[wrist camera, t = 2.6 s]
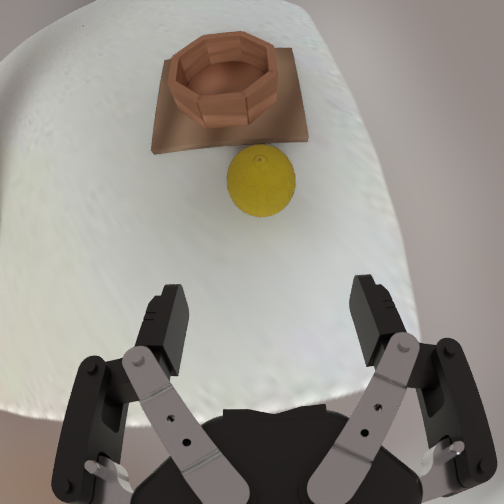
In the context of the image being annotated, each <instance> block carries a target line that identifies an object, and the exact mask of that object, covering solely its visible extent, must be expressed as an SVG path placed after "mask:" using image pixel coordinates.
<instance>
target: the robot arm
mask: <svg viewBox="0 0 504 504" xmlns="http://www.w3.org/2000/svg"><path fill="white" fill-rule="evenodd" d="M349 307H350V312H351V316H352V319H353V322H354V325H355V329H356V332H357V335H358V339H359V342H360V346H361V349H362V353H363V356H364V360H365V364H366V367H370V366H374V368H375V373H374V375H373V377H372V379H371V381H370V383H369V384H368V386H367V388H366V390H365V392H364V394H363V396H362V398H361V399H360V401H359V403H358V405H357V407H356V408H355V410H354V412H353V414H352V415H351V417H350V418H348V417H347V416H345V415H343V414H340V413H338V412H334V411H329V410H326V405H325V404H320V405H311V406H301V407H298V408H294V409H291V410H288V411H285V412H281V413H278V414H270V413H265V412H260V411H255V410H250V409H223V416H219V417H216V418H213V419H211V420H209V421H207V422H205V423H204V424H202V425H201V426H200V424H199V423H198V422H197V420H196V419H195V418H194V416H193V415H192V413H191V412H190V410H189V409H188V408H187V406H186V405H185V403H184V402H183V400H182V399H181V397H180V396H179V394H178V393H177V391H176V390H175V388H174V387H173V385H172V384H171V383H170V377H171V376H178V374H179V369H180V363H181V358H182V352H183V347H184V341H185V336H186V331H187V326H188V321H189V308H188V305H187V301H186V298H185V294H184V291H183V288H182V285H181V284H169V285H165V286H164V288H163V291H162V294H161V296H155V297H154V298H153V299H152V300H151V301H150V302H149V304H148V307H147V310H146V314H145V316H144V321H143V322H142V325H141V328H140V331H139V334H138V337H137V340H136V344H135V346H134V347H133V348H131V349H129V350H128V351H127V352H126V353H125V354H124V356H123V358H120V359H116V360H112V361H107V362H105V361H104V360H103V359H102V358H101V357H99V356H90V357H87V358H86V359H84V360H83V361H82V363H81V364H80V366H79V369H78V372H77V375H76V378H75V382H74V385H73V388H72V392H71V395H70V399H69V402H68V406H67V410H66V414H65V418H64V422H63V426H62V430H61V435H60V439H59V443H58V448H57V453H56V458H55V464H54V469H53V475H52V482H51V486H52V490H53V492H54V494H55V496H56V497H57V498H58V499H59V500H61V501H63V502H65V503H68V504H421V503H423V502H426V501H429V500H432V499H435V498H438V497H449V496H452V495H455V494H458V493H460V492H463V491H465V490H468V489H470V488H473V487H475V486H477V485H480V484H482V483H484V482H486V481H488V480H489V479H490V478H491V477H492V476H493V475H494V474H495V471H496V469H497V457H496V452H495V448H494V444H493V440H492V436H491V432H490V428H489V425H488V421H487V418H486V414H485V411H484V407H483V404H482V401H481V398H480V395H479V392H478V389H477V386H476V383H475V381H474V378H473V375H472V372H471V370H470V367H469V365H468V362H467V360H466V357H465V355H464V352H463V350H462V348H461V346H460V344H459V343H458V342H457V341H455V340H454V339H451V338H443V339H441V340H440V341H439V342H438V343H437V345H431V344H423V343H419V342H418V340H417V339H416V338H415V337H414V336H413V335H411V334H409V333H407V332H406V329H405V327H404V325H403V322H402V320H401V318H400V315H399V313H398V311H397V309H396V308H395V304H394V302H393V301H392V298H391V295H390V293H389V291H388V290H387V289H386V288H385V287H384V286H382V285H381V284H378V285H376V284H375V282H374V280H373V277H372V276H371V275H370V274H367V275H355V276H354V280H353V285H352V290H351V294H350V300H349ZM407 387H409V388H416V392H417V396H418V400H419V404H420V408H421V412H422V416H423V421H424V426H425V430H426V435H427V441H428V446H429V450H428V451H427V452H426V453H425V455H424V456H423V459H422V469H421V472H420V474H419V476H418V475H417V474H416V473H415V472H414V471H413V470H411V469H410V468H408V467H407V466H406V465H405V464H404V463H402V462H401V461H400V460H399V459H398V458H396V457H395V456H394V455H392V454H391V453H390V452H389V451H388V450H387V449H385V448H384V447H383V446H382V442H383V441H384V439H385V437H386V435H387V433H388V430H389V429H390V426H391V424H392V422H393V420H394V418H395V416H396V413H397V411H398V409H399V407H400V405H401V402H402V400H403V398H404V395H405V393H406V390H407ZM135 401H139V402H140V405H141V407H142V409H143V410H144V412H145V414H146V416H147V418H148V419H149V421H150V423H151V425H152V426H153V428H154V430H155V431H156V433H157V435H158V437H159V438H160V440H161V441H162V443H163V445H164V446H165V448H166V449H167V451H168V452H169V454H170V456H169V457H168V458H167V460H166V461H164V462H163V463H162V464H161V465H160V466H159V467H158V468H157V469H156V470H155V471H154V472H153V473H152V474H151V475H149V476H148V477H147V478H146V479H145V480H144V481H143V482H142V483H141V484H140V485H139V486H138V487H137V488H136V489H135V490H134V491H133V490H132V489H131V487H130V484H129V476H128V473H127V471H126V470H125V469H124V468H123V467H122V466H120V458H121V451H122V444H123V437H124V429H125V423H126V417H127V411H128V405H129V403H130V402H135Z"/></svg>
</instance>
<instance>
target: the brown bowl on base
mask: <svg viewBox="0 0 504 504" xmlns="http://www.w3.org/2000/svg"><path fill="white" fill-rule="evenodd" d="M307 141H308V131H307V125H306V119H305V113H304V107H303V102H302V96H301V91H300V86H299V80H298V75H297V71H296V66H295V61H294V56H293V52H292V48H274V46H273V45H271V44H269V43H267V42H265V41H263V40H261V39H259V38H257V37H255V36H252V35H250V34H248V33H246V32H242V31H237V32H226V33H217V34H209V35H203V36H201V37H199V38H198V39H196V40H195V41H193V42H192V43H190V44H189V45H187V46H186V47H185V48H183V49H182V50H180V51H179V52H178V53H176V54H175V55H173V57H172V59H169V60H164V66H163V71H162V76H161V82H160V88H159V94H158V100H157V107H156V114H155V121H154V129H153V137H152V146H151V151H152V152H153V154H154V155H155V154H161V153H168V152H176V151H183V150H191V149H200V148H210V147H220V146H231V145H244V144H260V143H281V142H307Z"/></svg>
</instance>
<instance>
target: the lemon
mask: <svg viewBox="0 0 504 504" xmlns="http://www.w3.org/2000/svg"><path fill="white" fill-rule="evenodd" d="M227 188H228V191H229V194H230V197H231V199H232V200H233V202H234V203H235V205H236V206H237V207H238V208H239V209H241V210H242V211H243V212H245V213H247V214H249V215H252V216H256V217H267V216H271V215H274V214H276V213H278V212H280V211H281V210H282V209H283V208H284V207H286V206H287V205H288V203H289V201H290V200H291V198H292V196H293V193H294V190H295V173H294V169H293V166H292V164H291V162H290V161H289V159H288V157H287V156H286V155H285V154H284V153H283V152H282V151H280V150H279V149H277V148H275V147H272V146H269V145H262V144H259V145H252V146H249V147H247V148H245V149H243V150H242V151H240V152H239V153H238V154H237V155H236V156H235V157H234V159H233V160H232V162H231V164H230V166H229V170H228V174H227Z"/></svg>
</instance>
